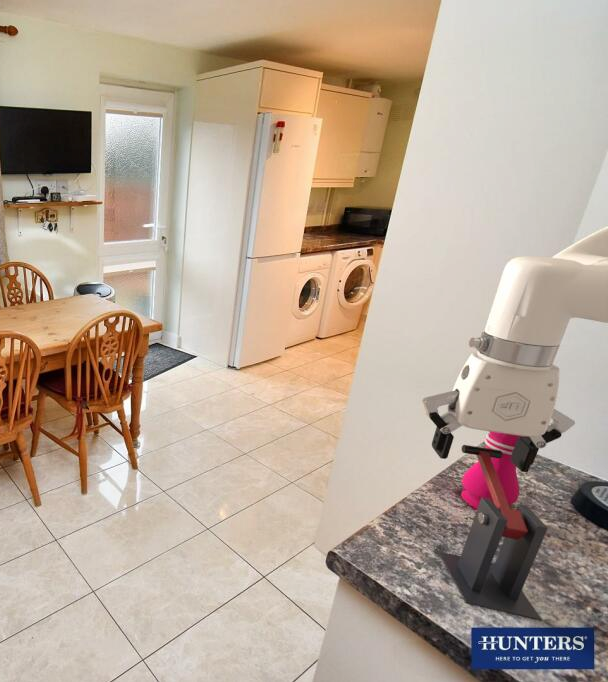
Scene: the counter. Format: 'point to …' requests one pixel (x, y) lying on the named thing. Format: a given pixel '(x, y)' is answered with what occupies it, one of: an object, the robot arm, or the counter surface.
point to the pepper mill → (503, 467)
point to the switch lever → (498, 491)
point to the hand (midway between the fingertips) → (478, 460)
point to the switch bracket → (510, 567)
